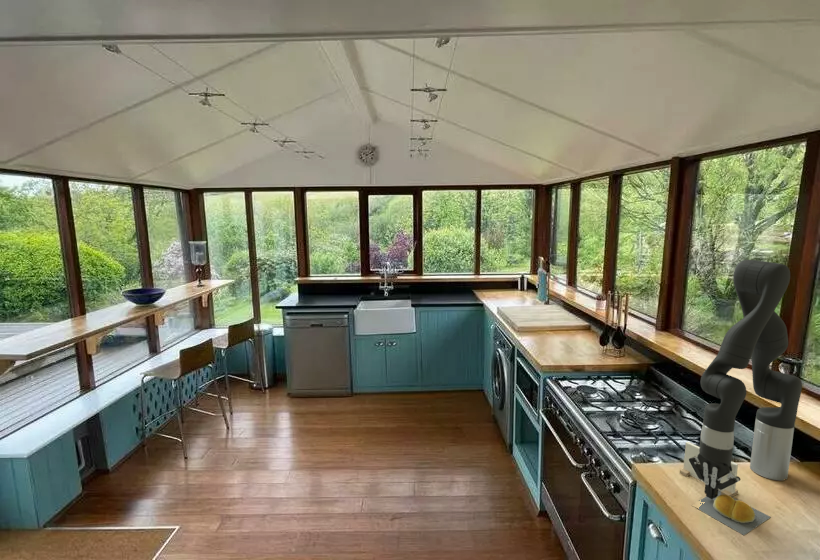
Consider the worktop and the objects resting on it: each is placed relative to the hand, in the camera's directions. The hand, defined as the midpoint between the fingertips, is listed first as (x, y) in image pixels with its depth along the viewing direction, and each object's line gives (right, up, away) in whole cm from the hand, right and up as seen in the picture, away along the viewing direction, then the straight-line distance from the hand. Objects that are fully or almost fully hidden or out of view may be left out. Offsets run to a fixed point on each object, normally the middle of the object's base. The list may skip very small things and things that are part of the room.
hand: (710, 497), depth 122 cm
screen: (+5, 0, +8) cm, 9 cm away
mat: (+2, -2, -4) cm, 5 cm away
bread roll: (+2, -2, -5) cm, 6 cm away
